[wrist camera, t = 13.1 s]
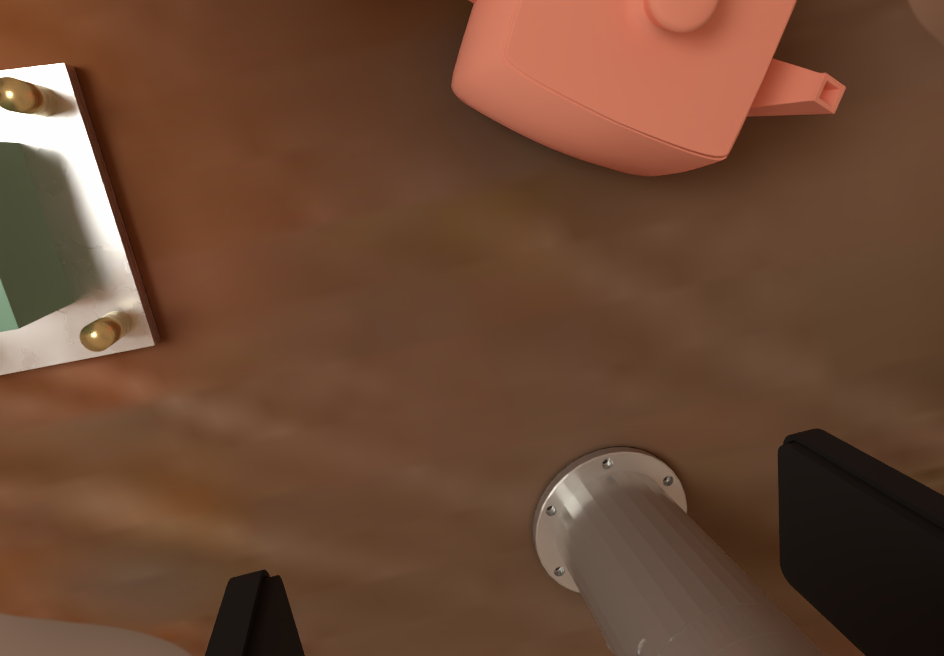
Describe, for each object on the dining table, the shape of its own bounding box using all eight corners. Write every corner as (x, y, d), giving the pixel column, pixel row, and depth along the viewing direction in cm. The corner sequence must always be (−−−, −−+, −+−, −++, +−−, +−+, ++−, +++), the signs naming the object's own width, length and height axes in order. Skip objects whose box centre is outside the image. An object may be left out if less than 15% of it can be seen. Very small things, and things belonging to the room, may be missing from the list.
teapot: (754, 29, 39) (963, -44, 26) (678, 211, 42) (833, 230, 28) (448, -135, 34) (513, -338, 20) (378, 86, 36) (394, 35, 22)
